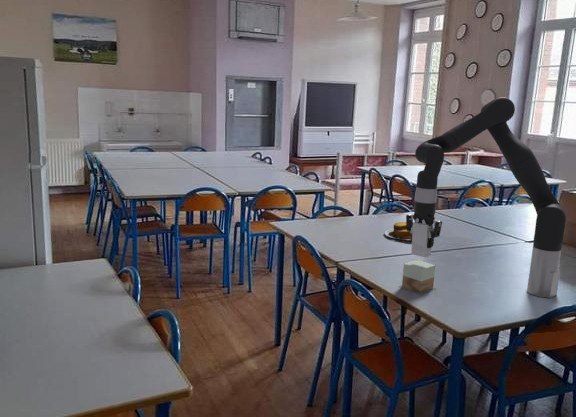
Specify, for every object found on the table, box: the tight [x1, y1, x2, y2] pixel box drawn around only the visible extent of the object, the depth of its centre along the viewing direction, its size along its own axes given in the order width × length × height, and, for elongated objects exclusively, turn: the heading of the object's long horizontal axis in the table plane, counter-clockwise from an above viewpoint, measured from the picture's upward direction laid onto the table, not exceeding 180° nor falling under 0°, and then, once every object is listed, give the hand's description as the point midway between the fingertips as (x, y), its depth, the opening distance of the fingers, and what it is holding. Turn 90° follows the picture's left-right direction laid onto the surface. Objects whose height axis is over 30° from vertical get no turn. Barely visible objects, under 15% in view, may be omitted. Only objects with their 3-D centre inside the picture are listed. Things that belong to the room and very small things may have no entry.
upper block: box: [402, 259, 436, 281], centre depth 195 cm, size 8×8×4 cm
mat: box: [398, 285, 437, 296], centre depth 196 cm, size 10×10×1 cm
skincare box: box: [410, 221, 434, 258], centre depth 192 cm, size 6×4×12 cm
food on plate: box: [384, 221, 411, 242], centre depth 269 cm, size 25×25×7 cm
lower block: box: [401, 275, 435, 293], centre depth 196 cm, size 8×8×4 cm
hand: (421, 245), depth 193 cm, fingers closed on skincare box, 6 cm apart
